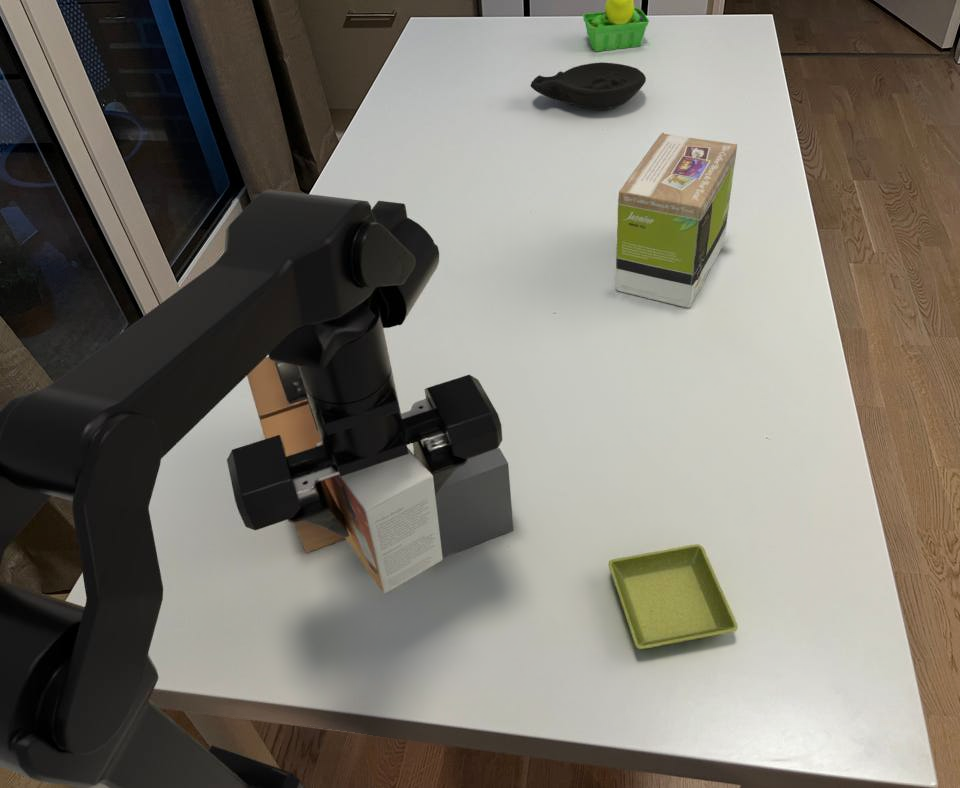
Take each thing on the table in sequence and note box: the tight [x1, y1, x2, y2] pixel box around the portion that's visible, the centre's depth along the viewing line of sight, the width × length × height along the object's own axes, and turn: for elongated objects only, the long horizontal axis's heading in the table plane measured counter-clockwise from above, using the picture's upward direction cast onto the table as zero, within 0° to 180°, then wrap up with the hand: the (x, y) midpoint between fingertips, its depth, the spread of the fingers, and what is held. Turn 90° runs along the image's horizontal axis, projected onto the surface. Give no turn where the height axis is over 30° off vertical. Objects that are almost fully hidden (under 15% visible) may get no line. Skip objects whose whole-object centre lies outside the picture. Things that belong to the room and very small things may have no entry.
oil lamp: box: [530, 61, 647, 110], centre depth 137 cm, size 15×20×5 cm
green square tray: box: [607, 543, 739, 650], centre depth 68 cm, size 9×9×2 cm
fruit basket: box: [582, 0, 650, 52], centre depth 151 cm, size 11×9×11 cm
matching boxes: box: [246, 356, 346, 554], centre depth 78 cm, size 6×16×11 cm, turn 22°
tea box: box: [614, 132, 738, 308], centre depth 98 cm, size 15×10×15 cm
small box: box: [316, 441, 444, 594], centre depth 61 cm, size 8×6×10 cm
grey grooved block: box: [435, 447, 514, 558], centre depth 73 cm, size 8×4×10 cm, turn 112°
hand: (385, 518), depth 62 cm, fingers closed on small box, 6 cm apart
